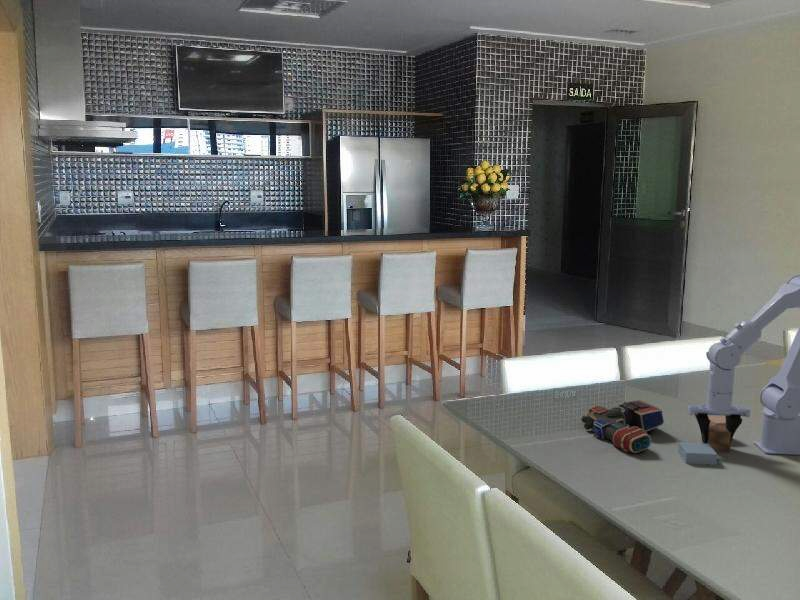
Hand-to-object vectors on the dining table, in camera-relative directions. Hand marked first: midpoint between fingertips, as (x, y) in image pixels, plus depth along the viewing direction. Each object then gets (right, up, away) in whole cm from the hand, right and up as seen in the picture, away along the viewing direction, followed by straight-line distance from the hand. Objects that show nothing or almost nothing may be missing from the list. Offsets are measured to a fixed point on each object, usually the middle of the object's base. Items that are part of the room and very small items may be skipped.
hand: (716, 442), depth 180 cm
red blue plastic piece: (-19, -1, +9) cm, 21 cm away
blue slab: (-8, -3, -7) cm, 11 cm away
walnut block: (0, -1, 0) cm, 1 cm away
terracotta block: (+4, 0, +8) cm, 9 cm away
